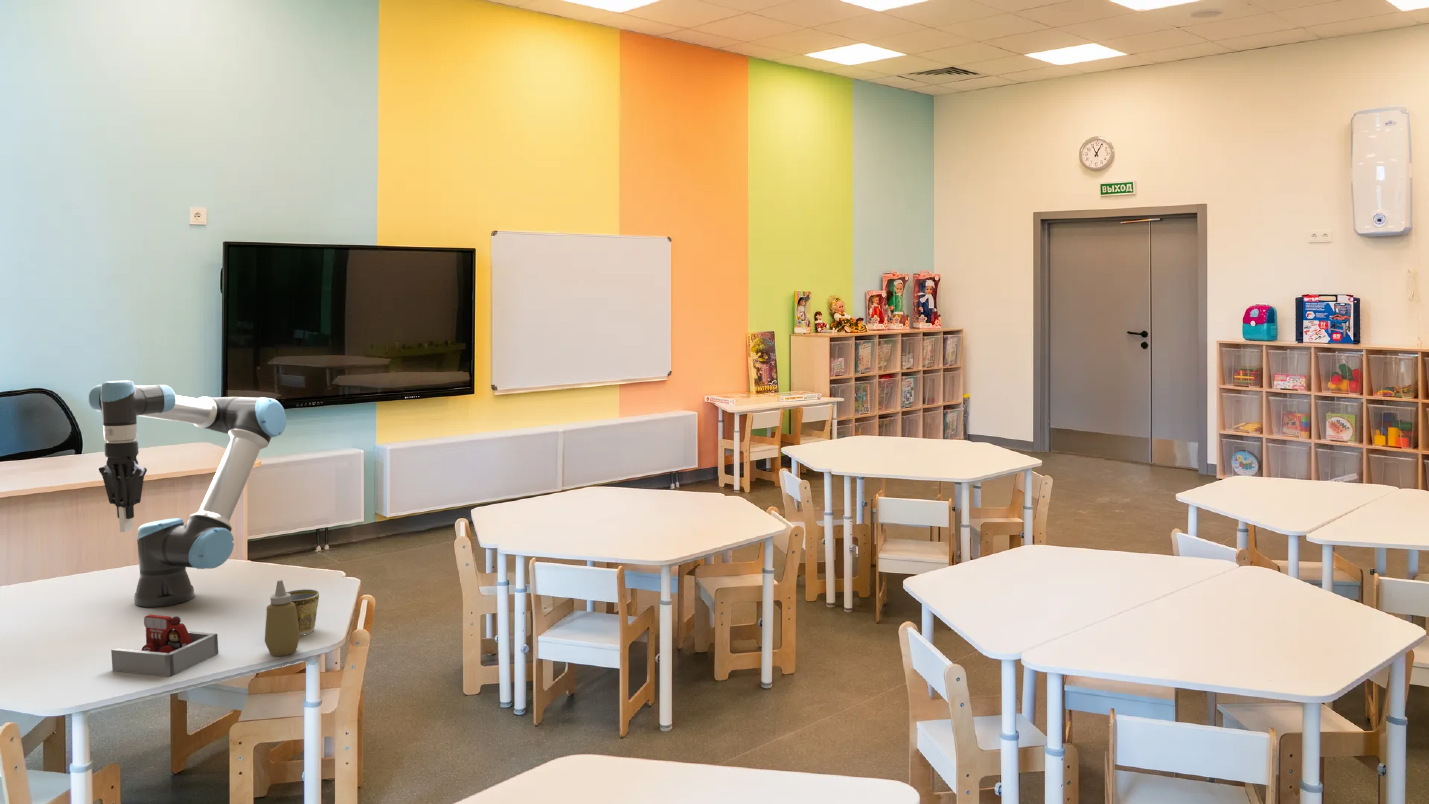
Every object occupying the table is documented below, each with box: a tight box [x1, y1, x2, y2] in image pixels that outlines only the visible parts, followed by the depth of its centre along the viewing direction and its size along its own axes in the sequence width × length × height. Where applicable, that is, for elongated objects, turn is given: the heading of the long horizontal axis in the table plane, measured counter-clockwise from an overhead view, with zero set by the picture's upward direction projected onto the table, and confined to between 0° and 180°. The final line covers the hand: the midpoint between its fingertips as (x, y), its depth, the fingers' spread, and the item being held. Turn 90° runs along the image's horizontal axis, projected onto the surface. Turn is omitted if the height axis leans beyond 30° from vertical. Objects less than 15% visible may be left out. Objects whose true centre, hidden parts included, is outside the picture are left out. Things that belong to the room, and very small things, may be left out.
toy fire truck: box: [140, 613, 191, 653], centre depth 240 cm, size 7×12×10 cm, turn 74°
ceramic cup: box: [286, 588, 320, 636], centre depth 260 cm, size 13×10×10 cm
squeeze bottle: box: [264, 579, 301, 657], centre depth 243 cm, size 8×8×18 cm
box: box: [110, 629, 219, 678], centre depth 238 cm, size 16×15×5 cm
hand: (126, 530), depth 259 cm, fingers closed
